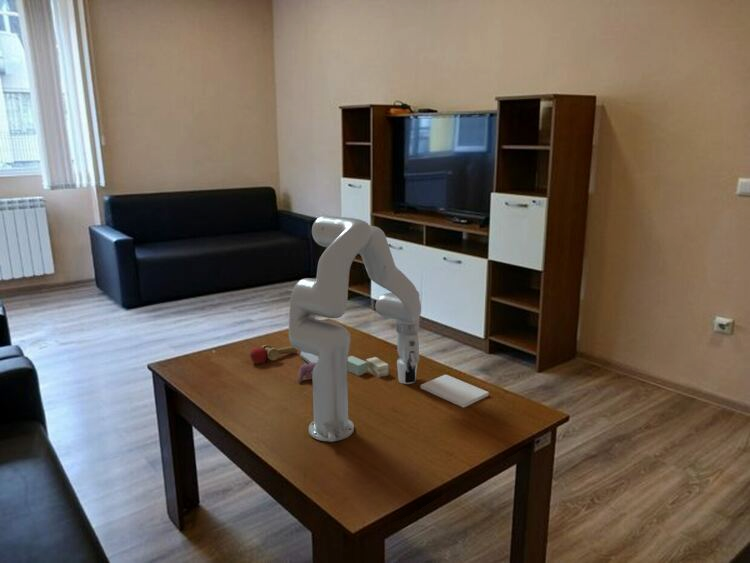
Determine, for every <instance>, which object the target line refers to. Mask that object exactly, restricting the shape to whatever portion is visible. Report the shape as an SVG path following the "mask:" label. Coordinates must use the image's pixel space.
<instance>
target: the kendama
mask: <svg viewBox="0 0 750 563" xmlns="http://www.w3.org/2000/svg"><path fill="white" fill-rule="evenodd" d="M297 353H298V350H297V349H295V348H294V347H293V346H292V345H290V346H286V347H281V348H276V347H271V346H270V345H268V344H264V345H262V346H255V347H254V348H253V349H252V350H251V352H250V356H249V357H250V359H251V361H252V362H253V363H254V364H256V365H258V364H259V365H260V364H263V363H265V362H266V361H267V360H270V361H276V360H277V359H278V358H279V356H280V355H288V354H297Z"/></svg>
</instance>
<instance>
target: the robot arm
mask: <svg viewBox="0 0 750 563" xmlns="http://www.w3.org/2000/svg"><path fill="white" fill-rule="evenodd" d="M311 235H312V238H313V240H314V241H315V243H316V244H317V245H318V246H321V247H324V248H325V250H324V251H323V253H321V256H320V257H319V259H318V263H317V269H316V277H315V278H312V277H311V278H309V277H307V278H306V277H305V278H302V279H300V280H298V281H297V282H296V283H295V285H294V287H293V288H292V291H291V294H290V300H289V301H290V302H289V318H288V340H289V343H290V346H293V347H294V348H295V349H297V351H300V352H301V351H303V352H306V353H310V354H313V355H316V356H318V362H317V363H316V365H315V366H314V368H313V371H312V372H311V373H312V379H311V380H312V401H313V402H312V403H313V407H312V408H313V420H312V421H311V423H309V426H308V433H309V436H311V437H312V438H313V439H315V440H318V441H322V442H338V441H341V440H345V439H347V438H349V437H350V436H351V435H352V434H353V433H354V431H355V430H354V429H355V427H354V426H355V425H354V423H353V421H352V420H350V419H349V407H348V406H349V402H348V401H349V394H348V388H349V387H348V371H347V360H348V357H349V353H350V352H349V351H350V347H351V334H350V332H349V331H348V330H347V329H346V327H344V326H342V325H340V324H338V323H336V322H331V321H326V320H322V319H318V318H316V316H318V317H322V318H326V319H327V318H328V319H338V318H342V317H343V316H344V314H345V312H346V310H347V307H348V295H349V292H348V291H349V282H350V272H351V271H350V270H351V266H352V264H353V262H354V260H355V257H356V256H358V254H359V255H360V256H361V259H362V262H363V265H364V268H365V270H366V272H367V275H368V278H369V279H370V280H371V282H373V283H375V284H377V285H378V286H379V287H382V288H383V289H384V290H387V291H389V292H388V293H384V294H382V295H380V296H379V297H378V298H377V300H376V302H375V305H374V306H375V311H376V313H377V314H378V315H379V316H381V317H384V318H388V319H392V320H395V332H396V333H397V341H396V342H397V344H396V346H397V347H396V348H397V354H398V359H399V358H401V359H402V360H403V361H404V362H405V363H406V371H405V382H406V383H410V382H414V383H415V382H416V380H415V368H416V362H418V363H419V362H420V342H419V334H418V333H419V332H420V316H421V312H422V304H421V299H420V291H419V290H417V287H416V286H415V284H414V283H413V282H412V281H411V280H410V278H408V276H406V275H405V273H403V272H402V271H401V269H399V268H398V267H397V266H396V263H395V260H394V258H393V255H392V254H393V253H392V251H391V248H390V245H389V243H388V240H387V237H386V234H385V232H384V231H383V230H382V229H381V228H380V227H378V226H375V225H370V224H369V223H368V222H367V221H365V220H362V219H358V218H355V217H346V216H335V215H322V216H319V217H318V218H317V219H315V221H314V222H313V224H312V227H311ZM407 360H410V361H411V362H408V361H407ZM415 361H416V362H415ZM408 364H411V366H408Z"/></svg>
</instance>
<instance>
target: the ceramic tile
mask: <svg viewBox="0 0 750 563" xmlns="http://www.w3.org/2000/svg"><path fill="white" fill-rule="evenodd" d="M420 389H422V390H424V391H425V392H428V393H431V394H432V395H435V396H436V397H439V398H441V399H443V400H446V401H448V402H451V403H452V404H454V405H457V406H459V407H461V408H463V409H464V408H466V407H468V406H470V405H472V404H475V403H476V402H478V401H480V400H482V399H485V398H486V397H488V396H489V394H490V393H489V391H487V390H484V389H482V388H479V387H477V386H475V385H472V384H470V383H469V382H468V383H467V382H466V381H462V380H460V379H458V378H455V377H454V376H450V375H448V374H443V375H440V376H438V377H436V378H434V379H431V380H428V381H426V382H425V383H422V384H420Z"/></svg>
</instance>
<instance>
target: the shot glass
mask: <svg viewBox="0 0 750 563" xmlns="http://www.w3.org/2000/svg"><path fill="white" fill-rule="evenodd" d="M407 361H408V362H411V361H410V360H407ZM415 362H416V361H415ZM418 363H419V362H416V368H415V381H416V378H417V372H418V371H417V369H418ZM396 366H397V367H396V368H397V376H398V379H397V380H398V382H399V384H400V383H401V384H405V385H410V384H413V383H415V382H410V383H406V382H405V371H406V363H405V362H404V361H403V360H402V359H401V358H399V357H398V359H397V360H396ZM408 366H411V364H408Z"/></svg>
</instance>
